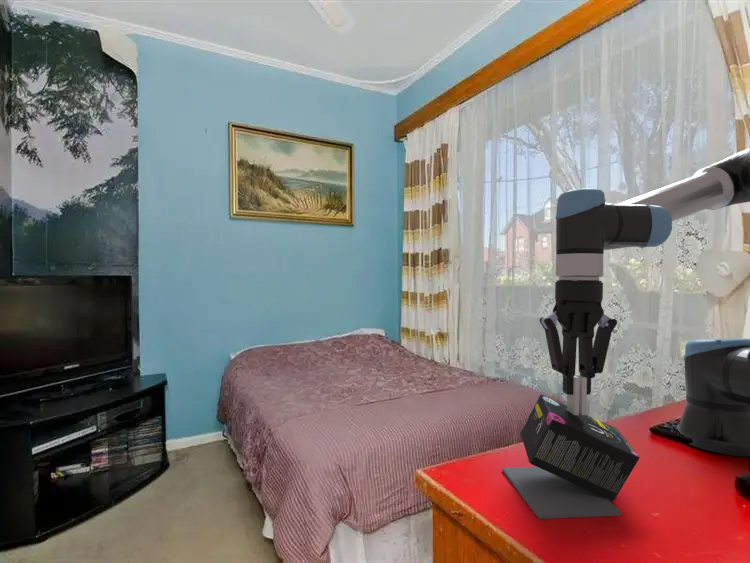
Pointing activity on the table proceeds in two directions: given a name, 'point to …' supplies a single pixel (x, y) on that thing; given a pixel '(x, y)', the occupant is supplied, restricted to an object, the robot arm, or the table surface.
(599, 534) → the table surface
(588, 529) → the table surface
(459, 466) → the table surface
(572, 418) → the tampon box
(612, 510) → the felt pad
